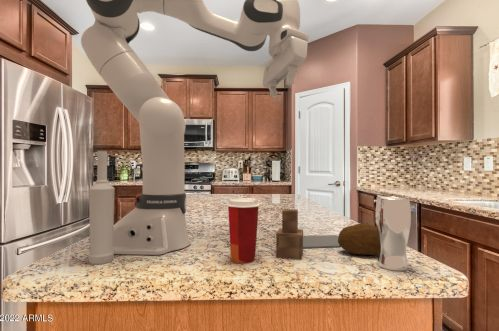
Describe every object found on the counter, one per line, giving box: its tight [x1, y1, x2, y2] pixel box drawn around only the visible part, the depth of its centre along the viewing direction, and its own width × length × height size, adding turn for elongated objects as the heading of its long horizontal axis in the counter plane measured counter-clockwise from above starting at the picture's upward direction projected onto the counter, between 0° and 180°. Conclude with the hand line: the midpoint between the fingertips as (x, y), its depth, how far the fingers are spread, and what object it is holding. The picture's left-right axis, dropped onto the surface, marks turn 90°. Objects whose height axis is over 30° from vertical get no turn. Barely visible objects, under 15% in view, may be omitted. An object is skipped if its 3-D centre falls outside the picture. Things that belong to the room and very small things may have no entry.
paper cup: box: [226, 197, 261, 264], centre depth 68 cm, size 8×8×14 cm
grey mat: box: [303, 234, 342, 250], centre depth 85 cm, size 16×12×1 cm
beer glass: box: [375, 195, 412, 272], centre depth 64 cm, size 7×7×15 cm
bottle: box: [88, 150, 116, 265], centre depth 66 cm, size 5×5×25 cm
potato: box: [337, 222, 380, 256], centre depth 73 cm, size 8×12×8 cm, turn 84°
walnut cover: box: [275, 208, 304, 260], centre depth 72 cm, size 6×6×11 cm
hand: (281, 90), depth 84 cm, fingers open, 8 cm apart
